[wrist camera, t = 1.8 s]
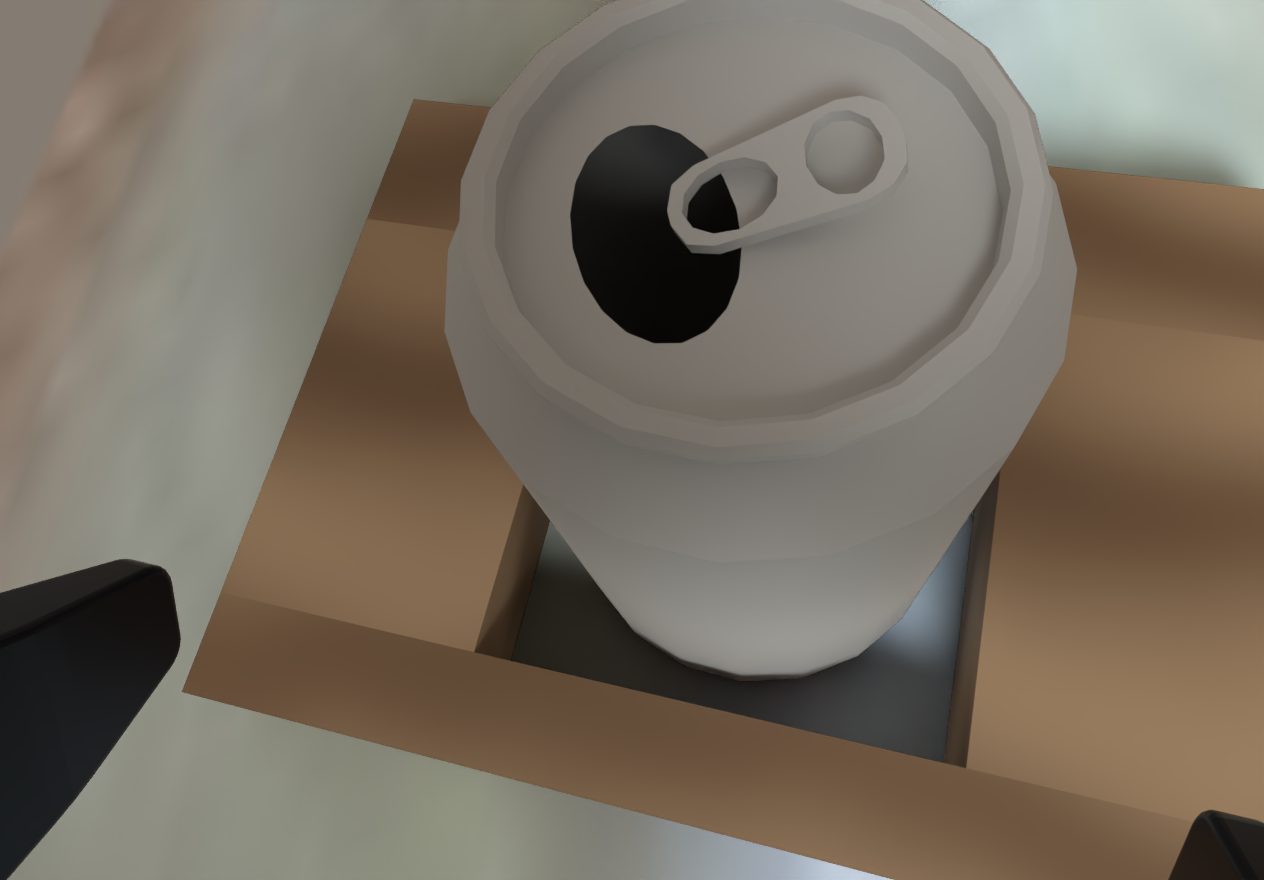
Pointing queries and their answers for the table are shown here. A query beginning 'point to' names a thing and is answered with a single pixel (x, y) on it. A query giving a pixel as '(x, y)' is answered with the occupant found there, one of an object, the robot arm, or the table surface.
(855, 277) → the can
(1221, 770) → the pocket board
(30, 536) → the table surface
